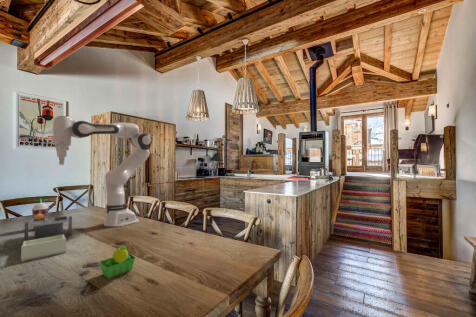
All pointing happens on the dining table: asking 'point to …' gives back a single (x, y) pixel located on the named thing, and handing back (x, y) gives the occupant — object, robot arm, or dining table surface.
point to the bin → (43, 247)
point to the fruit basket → (117, 263)
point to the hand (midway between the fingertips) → (61, 164)
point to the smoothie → (40, 209)
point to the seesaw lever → (47, 221)
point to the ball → (39, 217)
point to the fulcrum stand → (48, 230)
